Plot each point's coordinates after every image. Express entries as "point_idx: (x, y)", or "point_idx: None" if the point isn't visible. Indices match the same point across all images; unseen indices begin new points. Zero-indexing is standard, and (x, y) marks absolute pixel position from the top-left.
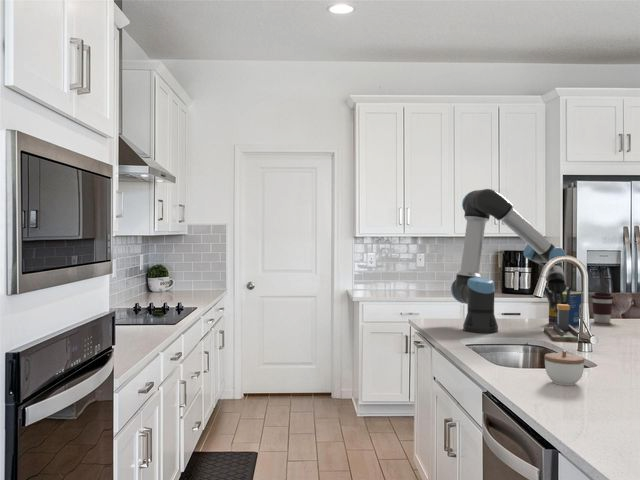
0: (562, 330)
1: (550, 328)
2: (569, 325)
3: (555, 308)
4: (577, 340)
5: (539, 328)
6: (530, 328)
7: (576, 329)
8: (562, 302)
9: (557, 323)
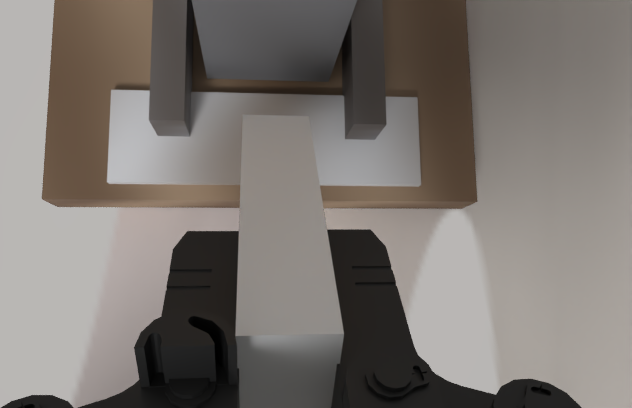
0: None
1: (410, 99)
2: (171, 41)
3: (389, 268)
4: None
5: None
6: (611, 355)
7: (70, 138)
8: (198, 331)
9: (338, 45)
